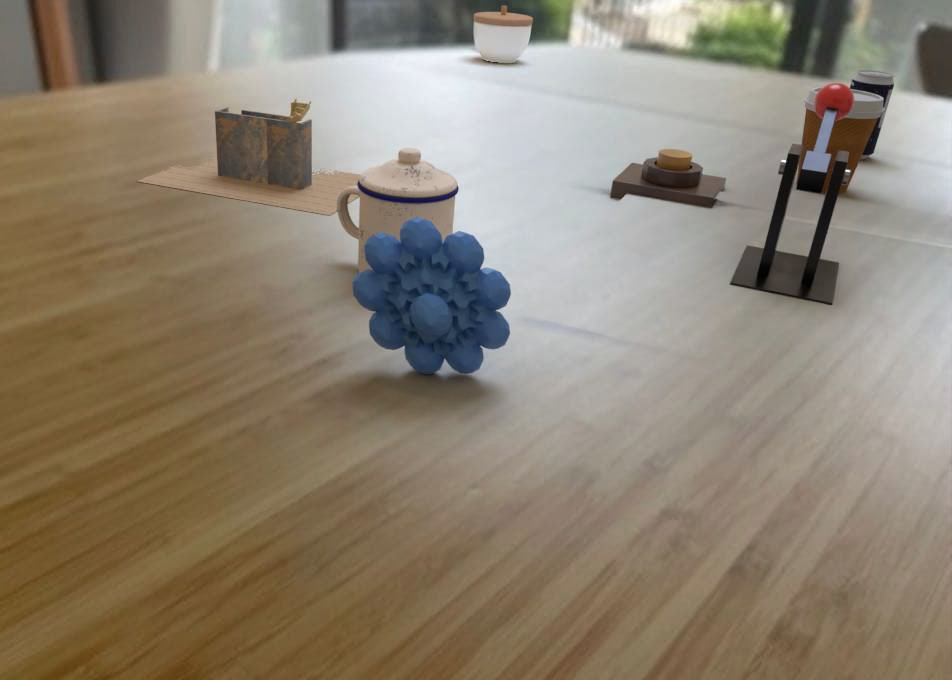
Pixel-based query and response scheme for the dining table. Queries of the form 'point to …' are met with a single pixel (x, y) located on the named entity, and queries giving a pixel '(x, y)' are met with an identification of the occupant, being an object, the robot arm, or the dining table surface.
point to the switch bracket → (792, 270)
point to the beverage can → (881, 86)
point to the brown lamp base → (668, 183)
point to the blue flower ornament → (433, 297)
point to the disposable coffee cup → (843, 131)
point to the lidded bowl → (501, 35)
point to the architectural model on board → (263, 164)
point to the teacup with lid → (399, 199)
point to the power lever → (824, 134)
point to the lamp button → (674, 159)
